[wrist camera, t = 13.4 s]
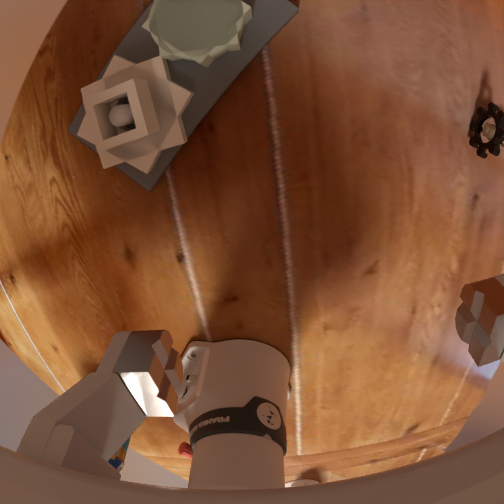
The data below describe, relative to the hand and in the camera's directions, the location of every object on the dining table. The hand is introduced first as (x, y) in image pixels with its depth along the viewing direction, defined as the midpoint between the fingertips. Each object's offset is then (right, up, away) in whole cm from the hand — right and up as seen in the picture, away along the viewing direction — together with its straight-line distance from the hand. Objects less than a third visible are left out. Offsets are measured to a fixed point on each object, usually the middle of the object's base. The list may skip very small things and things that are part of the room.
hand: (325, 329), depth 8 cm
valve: (+29, +16, +21) cm, 40 cm away
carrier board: (-10, +21, +19) cm, 30 cm away
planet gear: (-14, +16, +20) cm, 29 cm away
